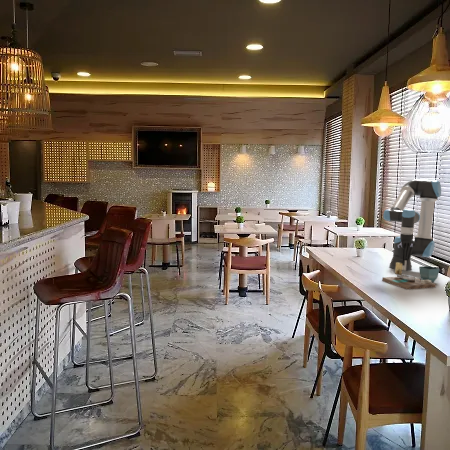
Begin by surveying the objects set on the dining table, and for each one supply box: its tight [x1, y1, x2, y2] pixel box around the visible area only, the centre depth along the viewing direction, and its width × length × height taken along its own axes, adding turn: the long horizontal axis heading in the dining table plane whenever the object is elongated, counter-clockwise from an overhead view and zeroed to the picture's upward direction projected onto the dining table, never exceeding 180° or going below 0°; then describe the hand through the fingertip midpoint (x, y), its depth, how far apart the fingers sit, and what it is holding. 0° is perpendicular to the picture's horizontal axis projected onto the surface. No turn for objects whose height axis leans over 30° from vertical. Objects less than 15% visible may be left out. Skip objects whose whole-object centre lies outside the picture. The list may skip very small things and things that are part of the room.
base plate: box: [381, 276, 437, 290], centre depth 295 cm, size 22×22×4 cm
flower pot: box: [418, 265, 440, 283], centre depth 305 cm, size 9×9×9 cm
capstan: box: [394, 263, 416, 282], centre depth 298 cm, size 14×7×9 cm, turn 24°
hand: (403, 270), depth 304 cm, fingers closed
